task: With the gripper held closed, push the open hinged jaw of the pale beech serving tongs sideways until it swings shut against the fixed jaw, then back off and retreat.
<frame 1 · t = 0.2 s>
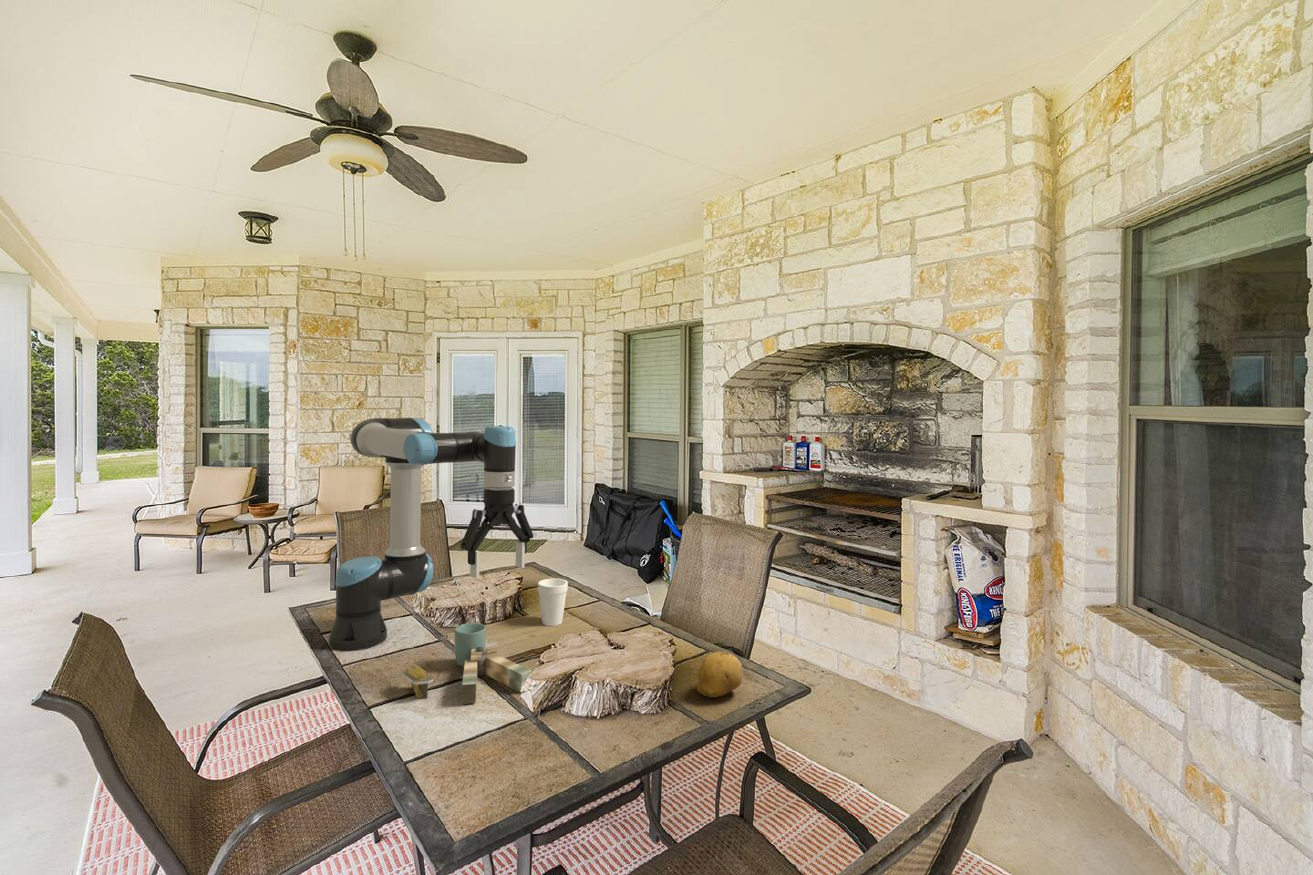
hand: (498, 571, 152), 28 cm above the table, fingers open, 13 cm apart
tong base: (479, 672, 157), on the table
foam cup: (552, 622, 195), on the table
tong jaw: (473, 673, 149), point 3 cm above the table, hinge at 35.0°
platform: (416, 696, 144), on the table
potato: (719, 694, 149), on the table
cup: (469, 665, 161), on the table
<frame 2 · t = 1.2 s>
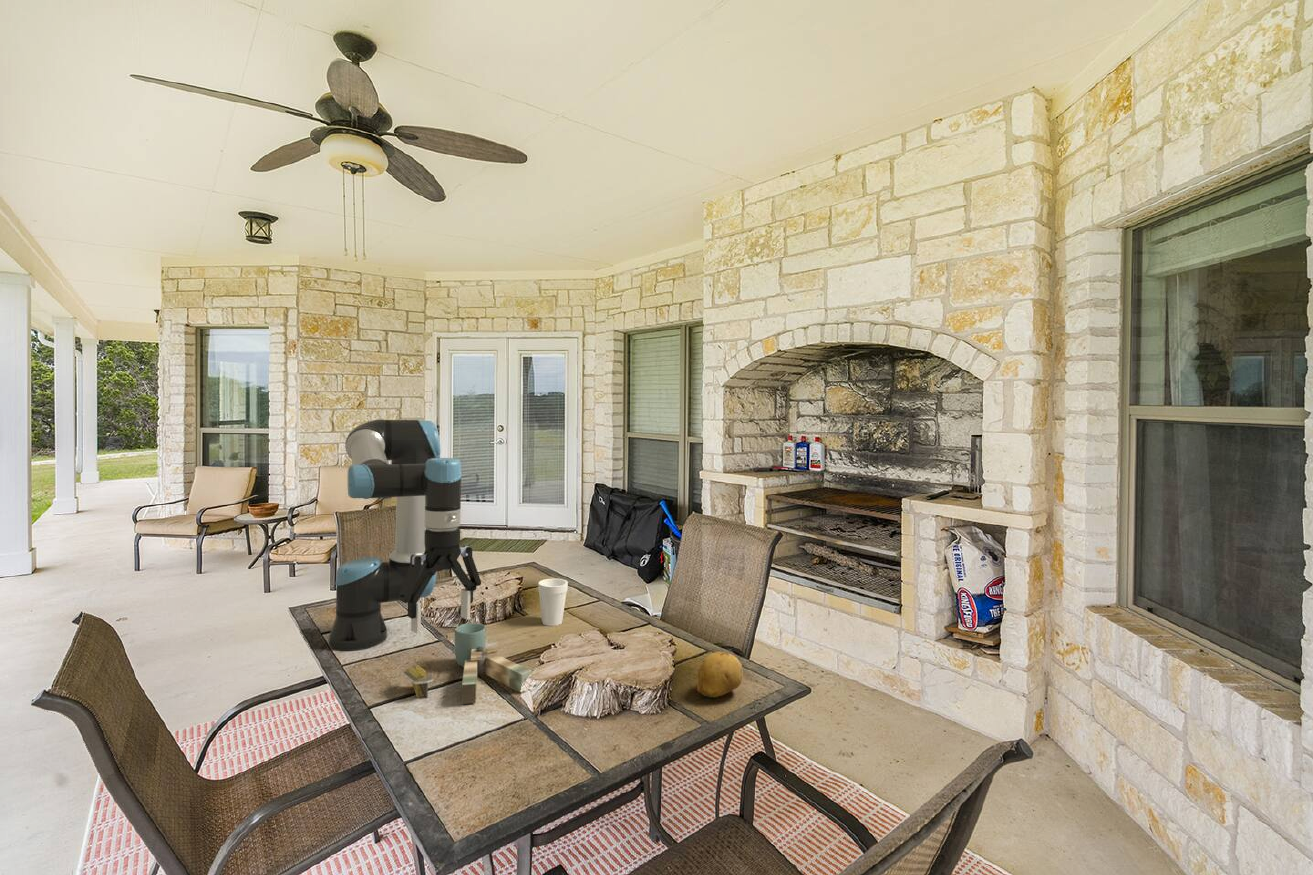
hand: (441, 624, 135), 20 cm above the table, fingers open, 11 cm apart
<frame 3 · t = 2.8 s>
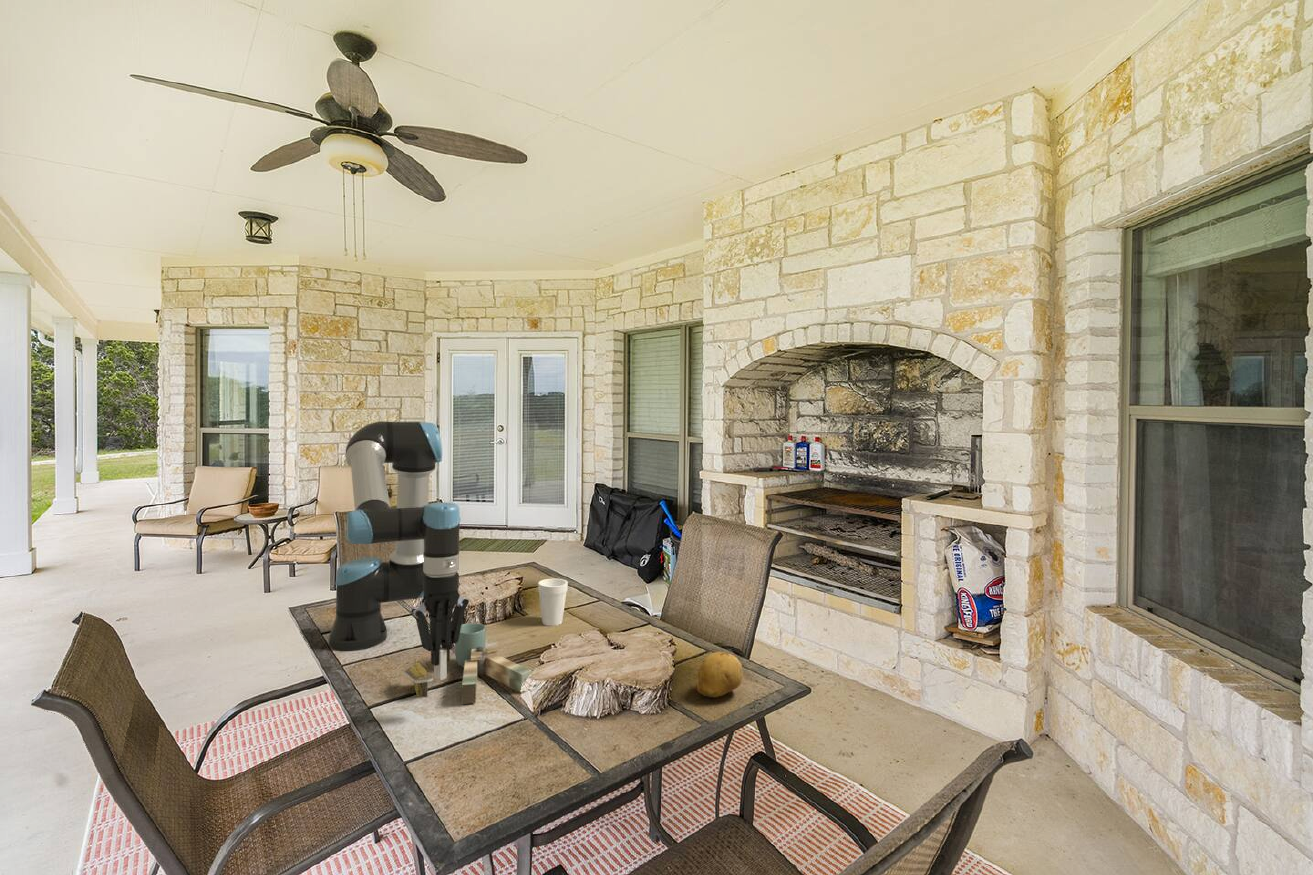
hand: (440, 677, 135), 8 cm above the table, fingers closed
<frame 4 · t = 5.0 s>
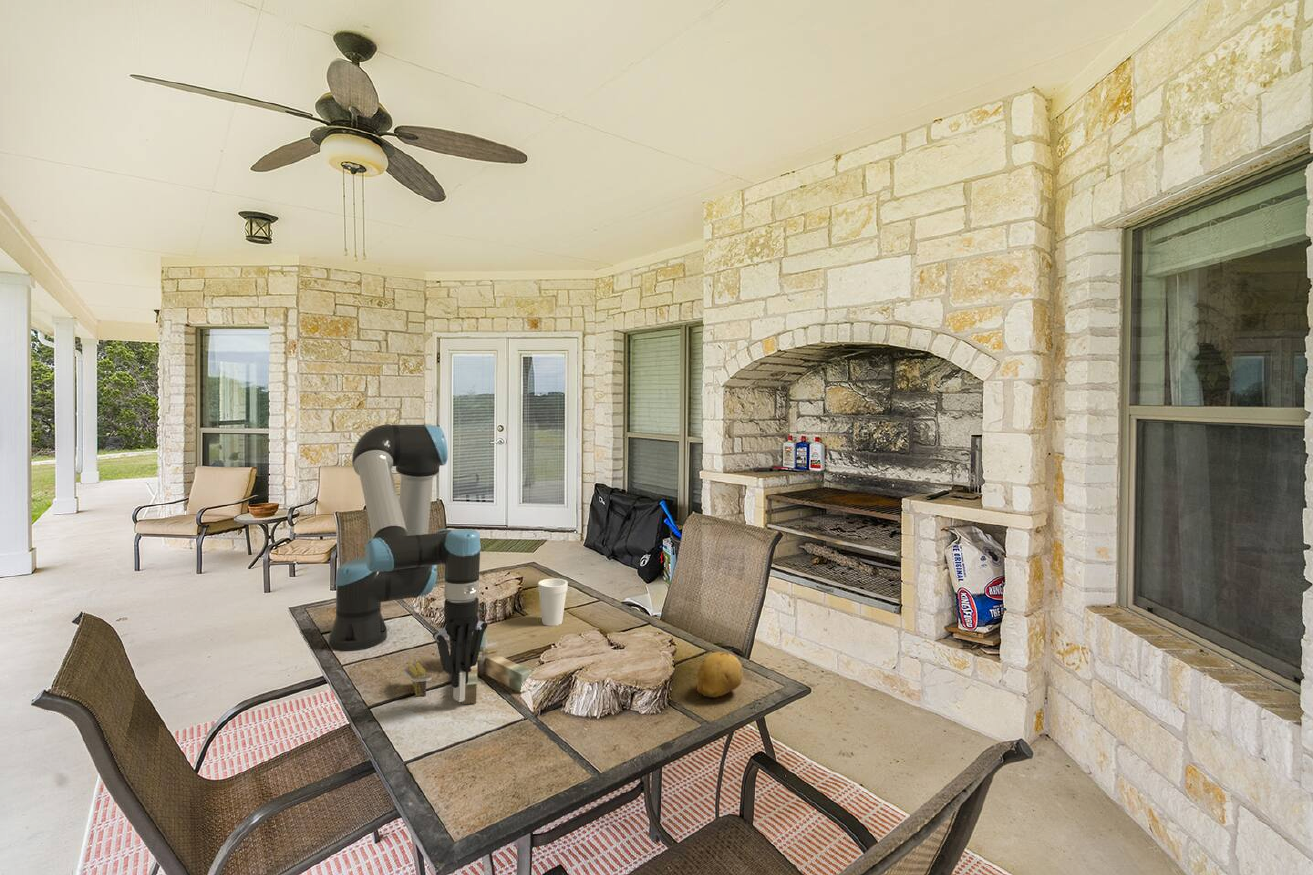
hand: (459, 699, 139), 2 cm above the table, fingers closed
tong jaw: (473, 673, 149), point 3 cm above the table, hinge at 34.4°, touching gripper
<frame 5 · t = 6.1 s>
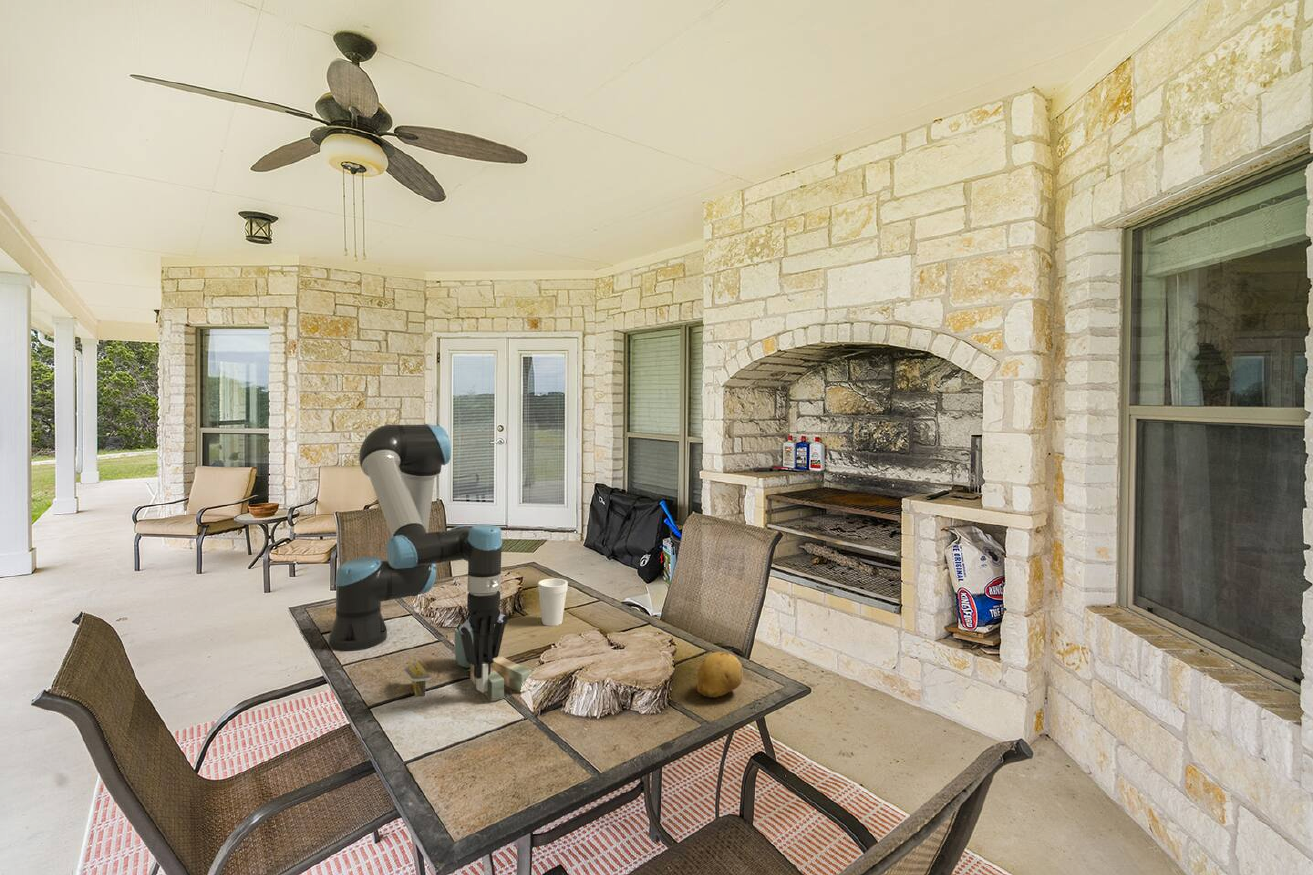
hand: (481, 689, 143), 2 cm above the table, fingers closed
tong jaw: (486, 672, 150), point 3 cm above the table, hinge at 12.8°, touching gripper
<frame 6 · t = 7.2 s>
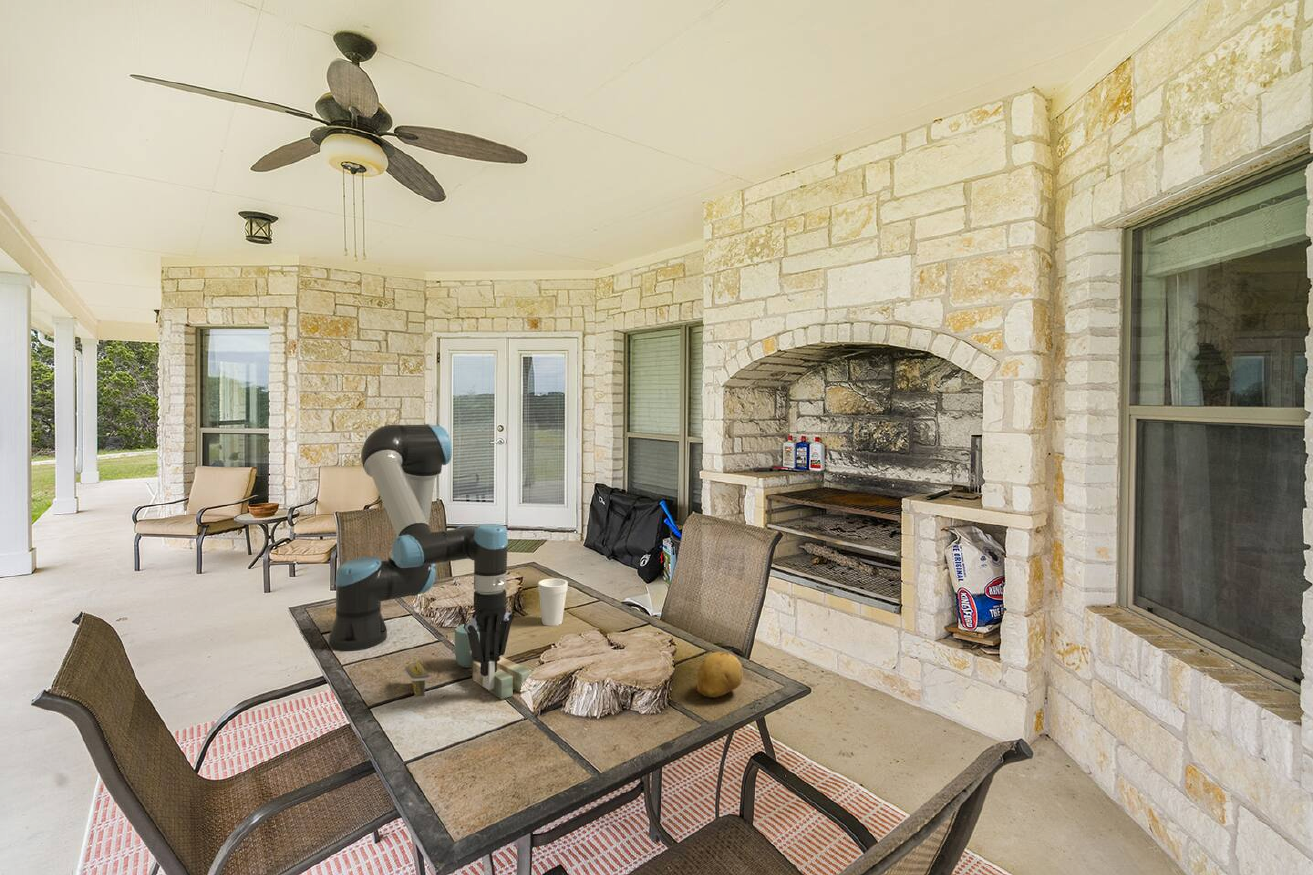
hand: (488, 687, 145), 2 cm above the table, fingers closed
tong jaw: (490, 671, 150), point 3 cm above the table, hinge at 5.4°, touching gripper
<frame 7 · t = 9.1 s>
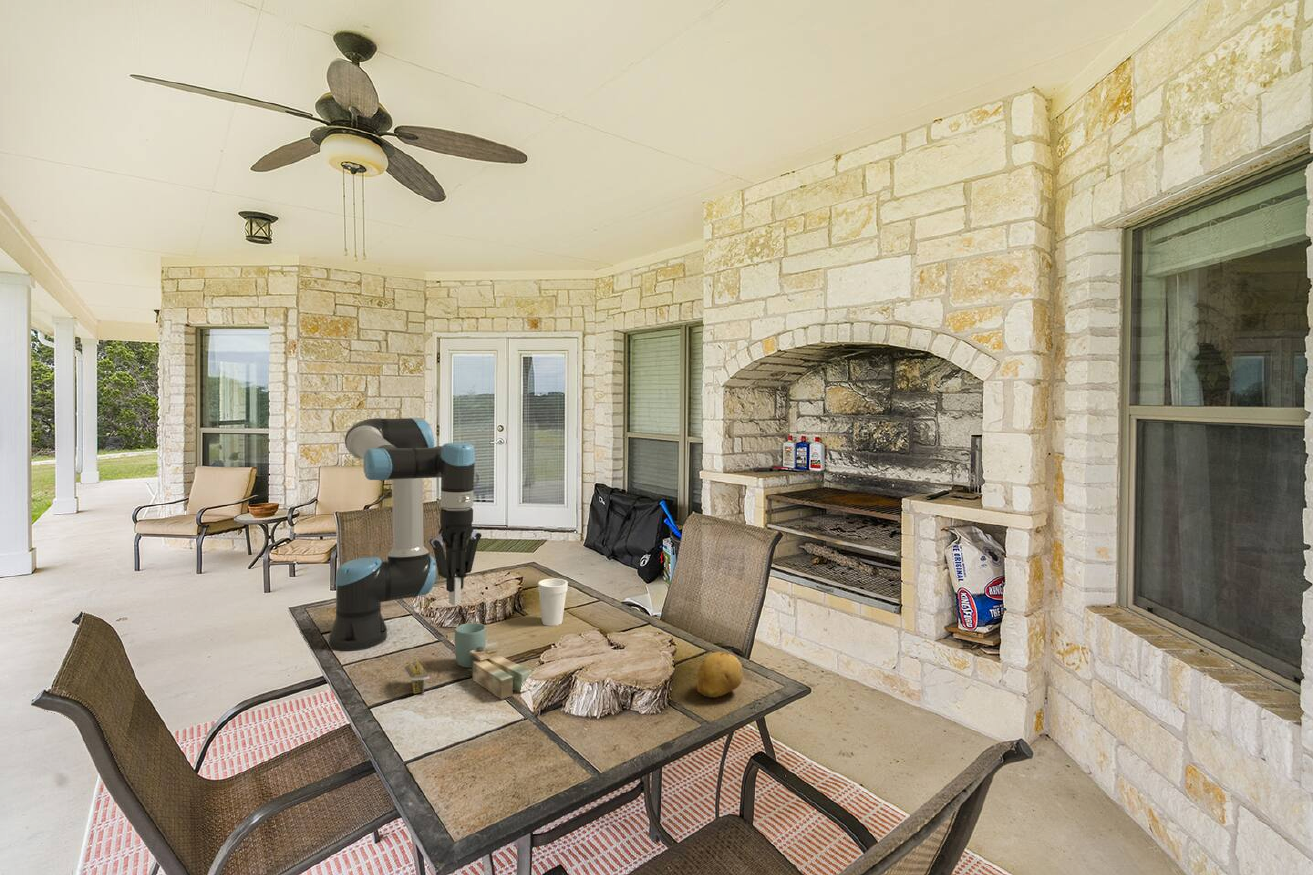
hand: (454, 603, 146), 21 cm above the table, fingers closed
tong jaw: (490, 671, 150), point 3 cm above the table, hinge at 5.4°
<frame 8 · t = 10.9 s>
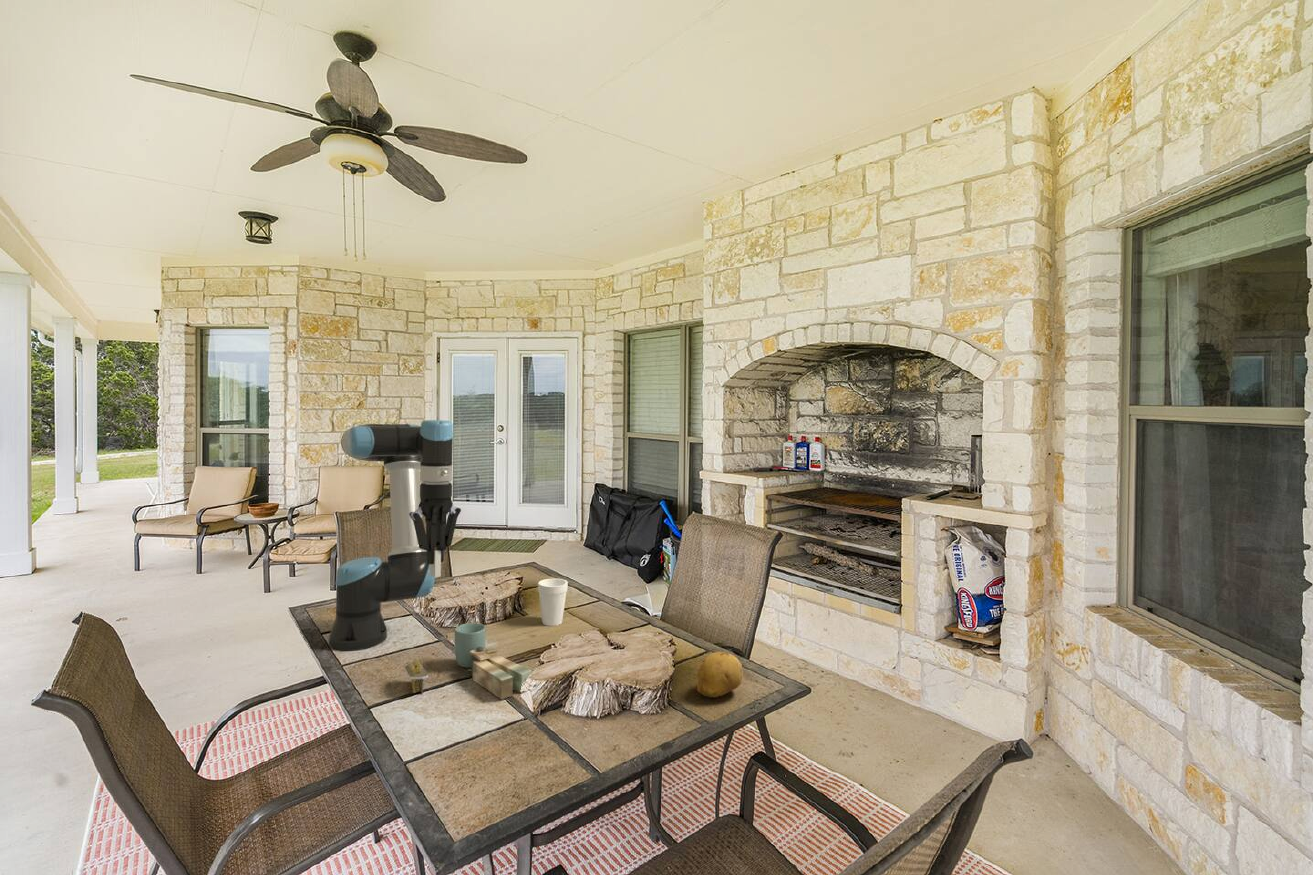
hand: (435, 575, 151), 26 cm above the table, fingers closed
at the end: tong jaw at +5° (first picture: +35°) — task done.
